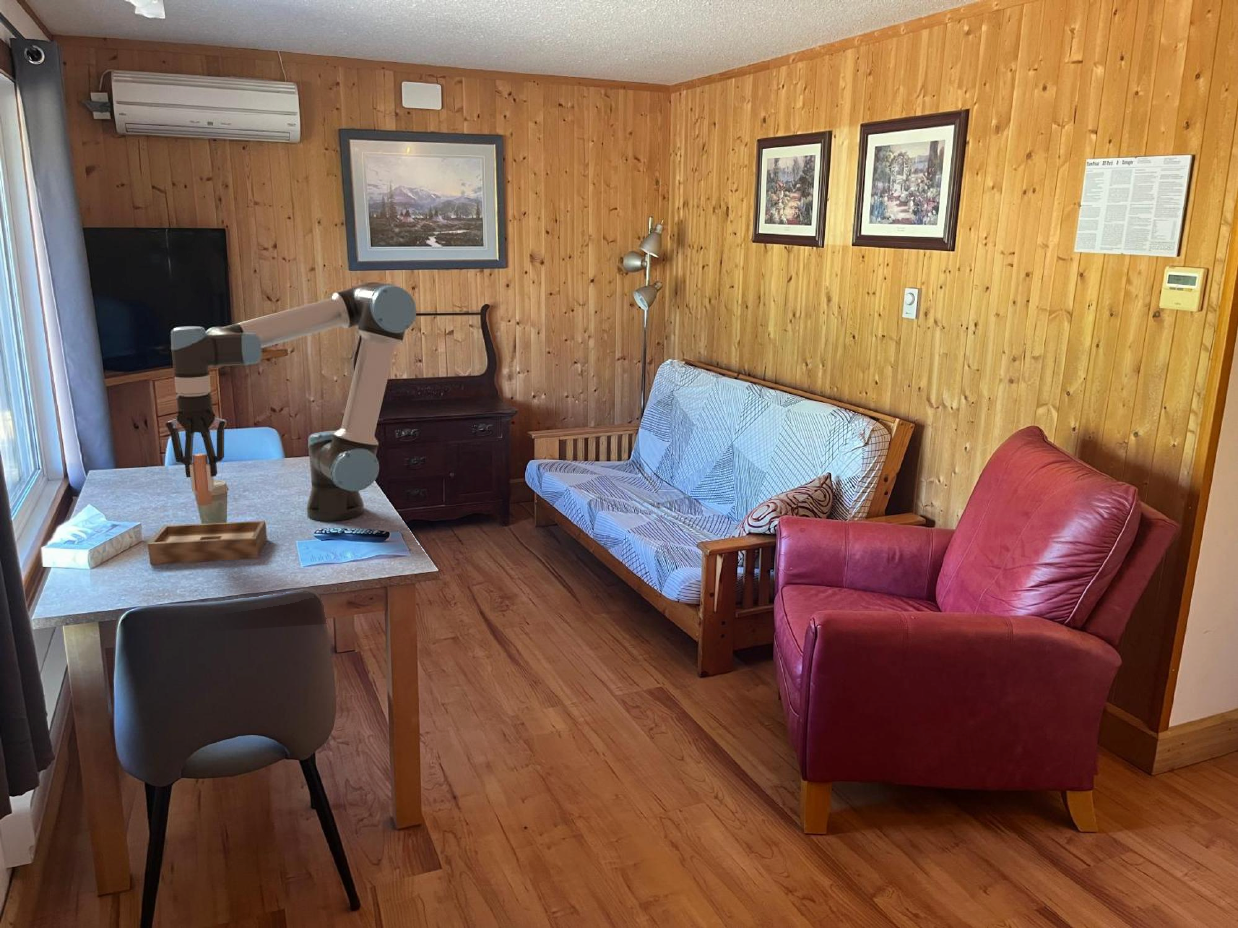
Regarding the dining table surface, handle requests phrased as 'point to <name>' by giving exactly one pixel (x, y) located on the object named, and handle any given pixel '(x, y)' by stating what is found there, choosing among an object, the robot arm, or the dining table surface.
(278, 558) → the dining table surface
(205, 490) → the peg
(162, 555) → the crate
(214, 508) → the coffee cup
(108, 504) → the dining table surface
